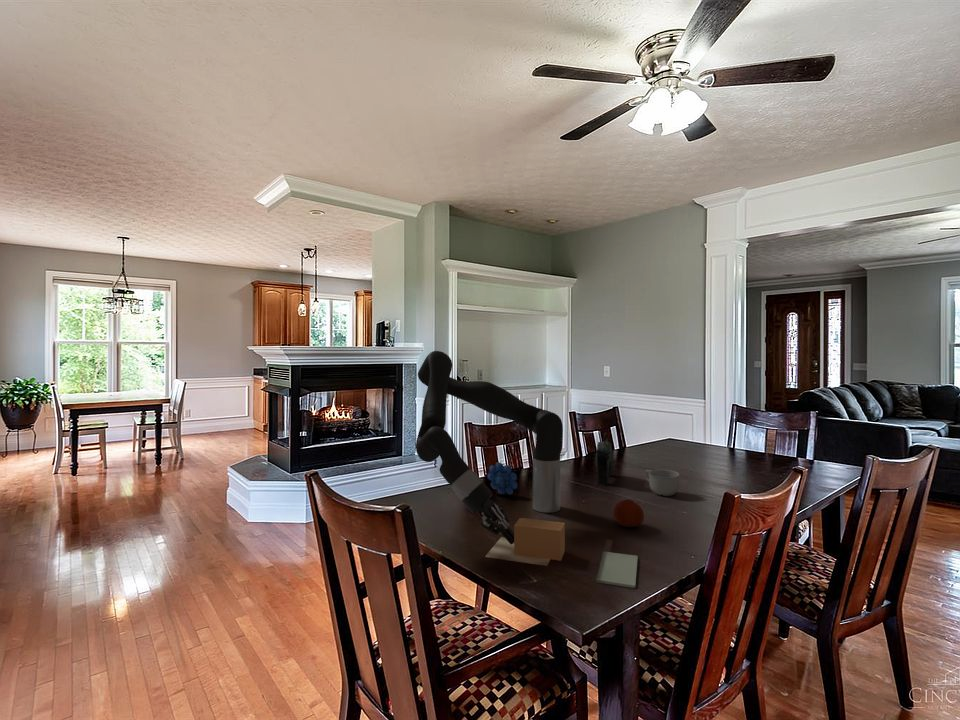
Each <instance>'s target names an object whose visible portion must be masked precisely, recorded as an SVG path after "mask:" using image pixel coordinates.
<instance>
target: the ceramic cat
mask: <svg viewBox="0 0 960 720" xmlns="http://www.w3.org/2000/svg"><path fill="white" fill-rule="evenodd" d="M606 436H607V432H604V434H603V441H598V442H597V445H596V453H595V464H596V469H597V483H598V485H600V484H606V485H605V486H607V485H608V484H609V477H611V476H612V469H613V459H614V455H613V447H612V444H611V442H610V439H609V438H606V439H605V437H606Z"/></svg>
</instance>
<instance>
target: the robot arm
mask: <svg viewBox="0 0 960 720" xmlns="http://www.w3.org/2000/svg"><path fill="white" fill-rule="evenodd" d="M452 369H453V362H452V359H451V357H450V356H449V355H448V354H446V353H445V352H443V351H441V350H434V351H433V350H432V351H431V352H430V353H428V354H427V355H426V357H425V358H424V361H423V362H422V364H421V366H420V367H419V369H418V372H417V377H418V380H419V381H420V383H422V384H423V385H425V386H426V387H427V390H426V393H425V394H424V395H425V396H424V399H423V403H422V410H421V411H422V412H421V425H420V427H419V431H418V434H417V437H416V442H415V451H416V454H417V456H418V458H419V459H421V461H423V462H426V463H431V462H434V461H435V460H437V459H438V458H439V457H440V459H441V463H440V467H439V473H440V475H441V476H442V477H443V478H444V480H445V481H446V482H447V484H448V485H450V487H451V488H452V490H453V492H454V493H455V495H456V496H457V497H458V499H460V500H461V502H462V503H463V504H464V505H465V507H467V509H468V510H469V511H470V512H471V513H475V512H477V513H478V515H479V517H480V518H481V519H482V522H481V523H480V526H481V527H482V528H484V529H486V530H487V531H489V532H491V533H493V534H494V535H496V536H497V535H498V534H499V535H502V537H505V538H506V540H507V541H508V542H509V543H510V544H513V543H514V530H512V528H510V524H509V523H510V519H509V517H508V515H507V513H506V510H505V507H504V506H503V504H502V503H499V505H497V503H496V502H495V501H493V500H492V499H491V498H492V496H493V492H492V491H491V489H490V488H489V487H488V486H487V485H486V484H485V482H484V481H483V480H482V479H481V478H480V477H479V476H478V474H477V473H476V472H474V471H473V470H472V469H471V468H470V466H469V465H468V464H467V463H466V462H465V461H464V459H462V457H461V455H460V452H459V451H458V449H457V446H456V444H455V442H454V440H453V438H452V437H451V435H450V434H449V433H448V431H446V429H445V428H446V422H447V420H446V419H447V396H448V395H449V396H452V397H455V398H457V399H459V400H462V401H463V402H467V403H469V404H471V405H473V406H475V407H477V408H479V409H480V410H482V411H485V412H487V413H489V414H491V415H493V416H496V417H500V418H503V419H505V420H510V421H513V422H515V423H518V424H520V425H522V427H525V428H527V429H528V430H529V431H531V432H532V433H533V434H535V446H534V449H533V450H532V509H533V510H534V511H536V512H539V513H547V514H548V513H549V514H550V513H556V512H559V511H560V510H561V453H562V452H563V451H562V450H563V441H564V438H563V437H564V435H563V432H564V429H563V427H564V426H563V421H562V419H561V417H560V416H559V415H558V414H556V413H554V412H553V411H550V410H547V409H542V408H540V407H537V406H534V405H531V404H528V403H527V402H525V401H523V400H521V399H520V398H518V397H517V396H516V395H514V394H512V393H511V392H510V391H508V390H506V389H505V388H502V387H500V386H498V385H496V384H493V383H492V382H489V381H484V380H480V381H479V380H473V381H471V380H470V381H469V380H468V381H464V380H458V379H456V378H453V377H451V372H452Z"/></svg>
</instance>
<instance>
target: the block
mask: <svg viewBox="0 0 960 720" xmlns="http://www.w3.org/2000/svg"><path fill="white" fill-rule="evenodd" d="M513 532H514V554H516V555H523V556H531V557H538V558H545V559H550V560H553V561H558V562H560V561H562V559H563V556H564V554H565V552H566V538H565V537H566V523H565V522H563V521H562V522H559V521H550V520H541V519H534V518H525V517H519V518H518V520H517V521H516V522H515V523H514V527H513Z"/></svg>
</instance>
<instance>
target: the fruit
mask: <svg viewBox="0 0 960 720" xmlns="http://www.w3.org/2000/svg"><path fill="white" fill-rule="evenodd" d="M612 513H613V514H612V515H613V519H614V520H615V521H616V522H617V523H618V525H621V526H622V527H626V528H635V527H638V526H641V524H642V523H643V522H644V520H645V519H644V518H645V515H644V509H643V508H642V507H641V505H639V504H638V503H636V502H635V501H633V500H632V499H623V500H621V501H619V502H618V503H616V504H615V506H614V508H613V512H612Z"/></svg>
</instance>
